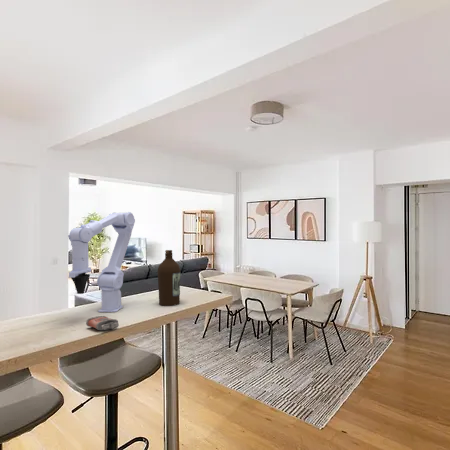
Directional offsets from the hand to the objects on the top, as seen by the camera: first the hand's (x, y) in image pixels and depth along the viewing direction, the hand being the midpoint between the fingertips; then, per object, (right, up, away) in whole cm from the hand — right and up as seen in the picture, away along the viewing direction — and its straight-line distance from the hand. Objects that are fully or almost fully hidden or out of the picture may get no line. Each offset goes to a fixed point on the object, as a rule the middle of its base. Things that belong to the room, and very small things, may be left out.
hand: (80, 293), depth 124 cm
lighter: (+9, -9, -7) cm, 14 cm away
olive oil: (+30, -10, +25) cm, 40 cm away
